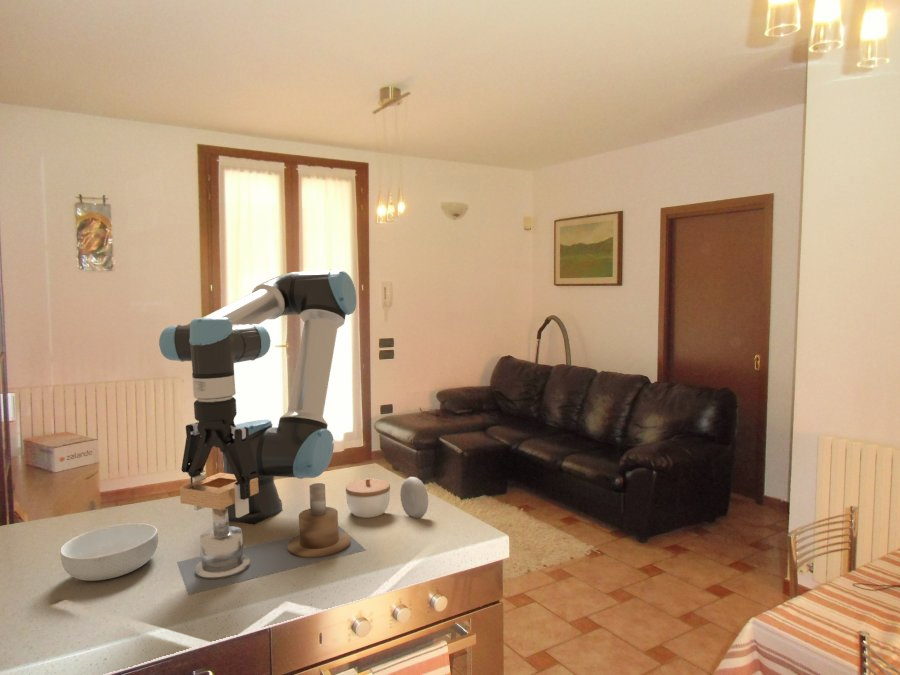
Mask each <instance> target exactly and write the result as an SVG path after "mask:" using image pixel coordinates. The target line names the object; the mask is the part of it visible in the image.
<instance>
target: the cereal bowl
mask: <svg viewBox="0 0 900 675" xmlns="http://www.w3.org/2000/svg"><path fill="white" fill-rule="evenodd" d="M158 544H159V533H158V529H157V527H155V526H154V525H152V524H148V523H142V522H141V523H140V522H138V523H135V522H134V523H133V522H131V523H121V524H114V525H109V526H104V527H100V528H97V529H93V530H90V531H86V532H84V533H82V534H80V535H77V536H74V537H73V538H71V539H70V540H67V542H65V543H64V544H63V545H62V546H61V548H60V552H59V553H60V554H59V555H60V561H61V564H62V567H63V570H64V571H65V572H66V573H67V574H68V575H69V576H70V577H72V578H75V579H76V580H81V581H88V582H89V581H90V582H94V581H95V582H96V581H105V580H110V579H115V578H118V577H121V576H122V577H123V576H126V575H128V574H129V573H132V572H134V571H136V570H138V569H139V568H141V567H143V565H146V564H147V563H148V562H149V560H151V558H152V557H153V556H154V555H155V552H156V551H157V548H158Z"/></svg>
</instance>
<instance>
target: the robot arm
mask: <svg viewBox="0 0 900 675" xmlns="http://www.w3.org/2000/svg"><path fill="white" fill-rule="evenodd" d="M356 308H357V292H356V288H355V284H354V281H353V279H352V277H351V276H350V275H349V274H348V273H347V272H346V271H345V270H333V269H328V270H314V271H313V270H311V271H307V270H306V271H291V272H287V273H284V274H281V275H279V276H276V277H273V278H272V279H269V280H266V281H265V282H262V283H260V284H258V285H256V286H255V287H254V288H253V290H252V292H251V293H248V294H247V295H245V296H243V297H241V298H239V299H237V300H235V301H232V302H231V303H229V304H227V305H224V306H223V307H220V308H219V309H217V310H215V311H213V312H210V313H209V314H207V315H204V316H203V317H197V318H193V319H192V320H191V322H190V323H188V324H185V325H180V324H176V325H169V326H168V327H167V326H166V328H164V329H163V330H162V331H161V333H160V335H159V340H158V346H159V350H160V353H161V355H162V356H163V357H164V358H165V359H167V360H169V361H176V362H177V361H178V362H181V363H182V362H183V363H184V362H191V365H192V366H191V367H192V369H191V370H192V373H191V374H192V391H193V392H192V393H193V398H194V399H196V400H194V402H193V412H194V413H193V414H194V419H195V420H196V421H197V422H195V423H190V424H186V425H185V435H186V436H185V437H186V438H185V444H184V450H183V457H182V463H181V472H182V473H187V474H188V476H189V477H190V484H191V483H194V482H196V481H199V480H202V479H204V478H207V474H206V473H205V472H206V471H205V469H204V468H205V466H206V464H207V461H208V459H209V456H210V454H211V451H212V449H213V447H215V448H218V449H219V450H220V452H221V453H222V461H223V462H222V463H223V464H222V465H223V473H227V474H234V475H235V477H236V480H237V482H236V483H234V492H235V503H234V504H232V505H230V506H228V520H229V523H243V524H248V525H253V526H255V525H257V524H259V523H261V522H264V521H265V520H268V519H269V518H271V517H273V516H275V515H278V514H279V513H281V512H283V511H284V510H283V502H282V499H281V498H280V496H279V492H278V489H277V487H276V484H275V477H281V478H282V477H284V478H295V479H298V480H299V479H300V480H301V479H314V478H315V479H316V478H318V477H319V476H321V475H322V474H323V473H324V472H325V471H326V470H327V468H328V467H329V465H330V462H331V460H332V457H333V454H334V448H335V445H334V436H333V434H332V432H331V431H330V430H328V425H329V424H328V422H327V421H326V420H325V419H324V411H325V407H326V406H325V405H326V399H327V393H328V389H329V388H328V387H329V381H330V376H331V370H332V365H333V358H334V352H335V346H336V338H337V333H338V329H339V328H341V327H342V326H344V325H345V320H346V316H350V315H353V313H354V312H355V310H356ZM294 315H296V316H298V315H299V318H300V320H301V321H302V322H303V327H302V333H301V339H300V344H299V349H298V353H297V359H296V365H295V370H294V375H293V379H292V385H291V391H290V396H289V402H288V407H287V412H286V413H284V414H283V415H281V416H280V417H279V420H278V424H277V427H274V426H273V423H272V421H271V420H270V419H257V420H251V421H247V422H243V423H237V424H236V423H235V418H236V417H237V399H236V398H235V397H234V396H235V395H236V382H235V363H241V362H248V361H252V362H253V361H255V360H257V359H260V358H263V357H264V356H265V355H267V353H268V352H269V350H270V347H271V337H270V334H269V331H268V330H267V329H266V328H265V327H264V326H262V325H260V324H262V323H263V322H265V321H266V320H276V319H278V318H279V317H281V316H294ZM254 478H258V488H259V493H257V494H254V495H252V496H250V480H252V479H254ZM204 508H205V507H201V506H195V505H193V510H194V511H199V510H201V509H204Z"/></svg>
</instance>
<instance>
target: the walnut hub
mask: <svg viewBox="0 0 900 675" xmlns="http://www.w3.org/2000/svg"><path fill="white" fill-rule="evenodd" d="M308 487H309V508H307V509H305V510H302V511H301V512H300V513H299V514H298V528H299V530H298V531H299V534H297V536H296V535H294V536H295V537H294V538H292V539H291V540H290V541H289V542H288V552H289V553H290V554H292V555H294V556H297V557H302V558H321V557H327V556H331V555H334V554H337V553H340V552H342V551H344V550H345V549H347V548H348V547H349V545H350V543H351V539H350V536H351V535H350V534H349V533H348V532H347V533H348V534H349V535H350V536H349V535H348V534H347V533H345V532H346V531H345V532H343V531H339V530H338V526H339V515H338V514H339V513H338V510H337V509H336V508H334V507H331V506H326V505H327V502H326V500H327V499H326V483H322V482H317V483H312V484H310V485H309V486H308Z"/></svg>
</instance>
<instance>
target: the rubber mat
mask: <svg viewBox="0 0 900 675" xmlns="http://www.w3.org/2000/svg"><path fill="white" fill-rule="evenodd" d="M338 530H339V531H343V532H345V533H347V534H348V535H349V536H350V539H351V543H350V545H349V547H348V548H347V549H345V550H344V551H342V552H340V553H337V554H334V555H331V556H327V557H321V558H302V557H297V556H294V555H292V554H290V553H289V552H288V542H289V541H290V540H291V539H292V538H294V537H295V536H297V535H298V534H297V535H292V536H287V537H283V538H278V539H273V540H269V541H265V542H261V543H257V544H252V545H247V546H243V554H245V555H247V556H248V557H249V558H250V566H249V567H248V568H247V569H246V570H245V571H244V572H242V573H240V574H238V575H235V576H232V577H228V578H224V579H216V580H208V579H202V578H199V577H197V576H196V574H195V567H196V565H197V564H198V563H199V562H201V556H198V557H193V558H189V559H185V560H181V561H177V562H176V563H177V566H178V568H179V571H180V574H181V578H182V580H183V583H184V586H185V588H186V592H187V594H188V595H194V594H197V593H201V592H205V591H210V590H213V589H217V588H221V587H225V586H229V585H233V584H236V583H242V582H245V581H250V580H252V579H258V578H262V577H266V576H269V575H273V574H276V573H277V574H278V573H280V572H285V571H289V570H293V569H297V568H301V567H305V566H309V565H312V564H313V565H314V564H317V563H320V562H325V561H329V560H332V559H336V558H341V557H345V556H349V555H352V554H357V553H361V552H365V551H367V549H366V548H365V547H364V546H363V545H362V544H360V543H359V541H357V540H356V539H354V538H353V537H352V536H351V534H349V533H348V532H347V531H345V530H344V529H343V528H342V527H341V526H340V525H338Z"/></svg>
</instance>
